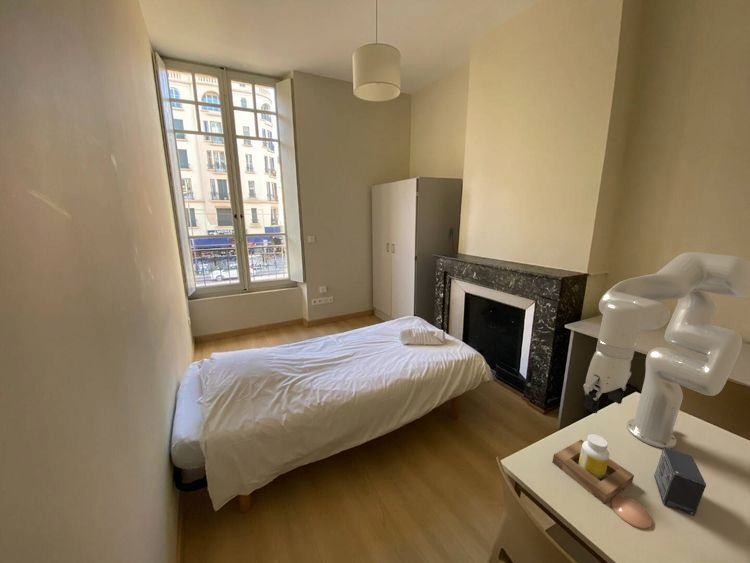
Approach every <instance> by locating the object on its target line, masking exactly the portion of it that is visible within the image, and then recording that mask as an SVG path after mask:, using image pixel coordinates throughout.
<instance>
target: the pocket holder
mask: <svg viewBox="0 0 750 563" xmlns="http://www.w3.org/2000/svg"><path fill="white" fill-rule="evenodd" d="M583 442H585V441H584V440H582V439H579V440H578V441H576V442H574V443H572V444H570V445H568V446H567V447H564V448H563V449H561V450H559V451H557V452H556V453H554V454H553V457H552V464H554V465H555V466H556V467H557V468H559V469H560V470H561V471H563V473H564V474H566V475H567V476H569V477H570V478H571V479H572V480H574V481H575V482H576V483H577V484H578V485H580V487H582V488H583V489H585V490H586V491H587V492H588V493H590V494H591V495H592V496H593V497H595V498H596V499H597V500H599V501H600V502H601V503H602V504H604V505H605V504H607V502H609V501H611V500H612V499H613V497H615V496H618V495H619V494H620V493H621V492H622V491H624V490H625V489H627V488H628V487H629V486H630V485H632V484H633V482H634V477H635V475H634V474H633V473H631V471H629V470H627V469H626V468H624V467H623V466H621V465H620V464H618V463H616V462H615V461H613V460H612V459H610V458H609V461H608V465H607V469H606V473H605V475H607V477H606V476H605V477H604V479H603V480H602V481H600V480H598V479H597V478H596V477H594V476H593V475H592V474H590V473H589V472H588V471H586V470H585V469H584V468H582V467H581V466H580V465H578V463H577V462H579V458H580V453H581V448H582V444H583Z"/></svg>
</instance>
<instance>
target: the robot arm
mask: <svg viewBox="0 0 750 563" xmlns="http://www.w3.org/2000/svg"><path fill="white" fill-rule="evenodd" d="M710 293H711V294H717V295H721V296H727V297H728V296H729V297H733V298H739V299H740V298H741V299H742V298H748V297H750V262H749V261H748V260H746V259H744V258H742V257H739V256H735V255H728V254H727V255H726V254H719V253H718V254H717V253H708V252H702V251H701V252H699V251H688V252H683V253H681V254H679V255H677V256H676V257H674V258H673V259H672V260H670V262H668V263H667V264H666V265H664V266H663V267H662V268H661V269H660V270H658V271H657V272H656V273H651V274H646V275H641V276H636V277H631V278H626V279H624V280H622V281H619V282H618V283H616V284H614V285H613V286H612V287H611V288H609V289H608V290H607V291H606V292H605V293H604V294H603V295H602V296H601V298H600V300H599V302H598V310H599V312H600V313H601V315H602V319H601V323H600V329H599V333H598V337H597V344H596V348H595V350H596V351H595V352H594V354H593V356H592V358H591V360H590V363H589V366H588V371H587V374H586V378H585V383H584V384H583V386H582V387H583V392H584V395H585V398H584V402H583V406H584V408H585V409H587V410H589V411H591V412H592V413H594V414H598V411H599V406H600V402H601V401H600V399H599V398H600V397H601V395H602V394H603V393H604V394H605V393H608V395H607V398H608V399H609V400H611V401H613V402H614V403H616V404H618V405H621V404H622V402H623V398H624V394H625V391H626V389H627V385H628V383H629V380H630V378H631V376H632V371H631V366H632V360H633V359H634V355H635V352H636V351H635V350H636V347H637V342H638V337H639V333H640V331H653V330H658V329H661V328H662V327H664V326H666V325H667V327H666V329H665V333H664V340H665V341H666V342H667V343H668V344H670V345H672V346H675V347H678V348H680V349H683V350H686V351H690V352H692V353H696V354H699V355H701V356H705V357H707V358H708V361H706V360H704V359H702V358H697V357H696V356H692V355H690V354H687V353H684V352H682V351H681V352H680V351H678V350H674V349H672V348H666V347H660V346H659V347H654V348H652V349H650V350H649V351H648V353H647V354H646V358H645V375H644V380H643V385H642V390H641V392H640V396H639V400H638V404H637V408H636V411H635V416H634V418H631V419H629V420H628V421H627V422H626V428H627V430H628V432H629V433H630V434H631V435H632V436H634V437H635V438H636V439H639V440H640V441H642V442H643V443H645V444H647V445H650V446H652V447H653V446H654V447H656V448H661V449H663V447H666V448H669V449H673V448H675V447H676V445H677V443H678V442H677V441H678V440H677V439H676V437H675V436H674V434H673V431H674V427H675V425H676V422H677V417H678V415H679V412H680V409H681V404H682V401H683V397H684V394H683V390H682V388H681V386H682V387H684V388H687V389H690V390H692V391H695V392H698V393H699V394H702V395H705V396H710V397H711V396H716V395H718V394H719V393H720V392H722V390H723V389H724V387H725V385H726V384H727V381H728V378H729V376H730V374H731V372H732V370H733V368H734V366H735V364H736V362H737V359H738V357H739V355H740V352H741V350H742V346H743V339H742V336H741V335H740V334H739V333H738V332H737V331H735V330H732V329H729V328H726V327H723V326H718V325H714V324H712V323H713V320H714V317H715V315H716V314H717V308H718V307H717V304H716V302H715V301H714V299H713V297H712V296H711V295H710ZM670 300H671V301H673V300H677V304H676V306H675V309H674V312H673V313H672V316H671V310H670V307H669V306H668V305H667V304H665V303H663V302H661V301H670ZM597 386H598V387H597ZM593 390H596V391H597V392H596V393H595V392H594V391H593Z"/></svg>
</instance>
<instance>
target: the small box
mask: <svg viewBox="0 0 750 563" xmlns="http://www.w3.org/2000/svg"><path fill="white" fill-rule="evenodd" d="M653 476H654V480H655V484H656V485H657V489H658V493H659V496H660V499H661V501H662V504H663V505H664V506H667V507H668V508H671V509H674V510H677V511H679V512H682V513H684V514H687V515H689V516H692V517H695V516H696V513H697V509H698V507H699V504H700V502H701V499H702V497H703V495H704V492H705V489H706V487H707V483H706V482H705V479H704V477H703V475H702V473H701V471H700V469H699V467H698V465H697V463H696V461H695V459H694V456H693V455H691V454H690V455H689V454H688V453H683V452H681V451H677V450H674V449H673V448H666V447H663V448H662V450H661V455H660V458H659V461H658V464H657V466H656V469H655V472H654V474H653Z"/></svg>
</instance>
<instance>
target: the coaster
mask: <svg viewBox="0 0 750 563" xmlns="http://www.w3.org/2000/svg"><path fill="white" fill-rule="evenodd" d="M610 504H611V505H610V506H611V507H612V510H613V511H614V513H615V514H616V515H617V516H618V517H619V518H620V519H621V520H623V522H625V523H627V524H629V525H630V526H632V527H635V528H637V529H643V530H645V529H650V528H651V526H652V525H653V519H652V516H651V514H650V513H649V511H648V510H647V509H646V508H645V507H644V506H643V505H642V504H640V503H639V502H637V501H636V500H635V499H632V498H630V497H627V496H623V495H616V496H614V497H613V498H612V499H611V503H610Z"/></svg>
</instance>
